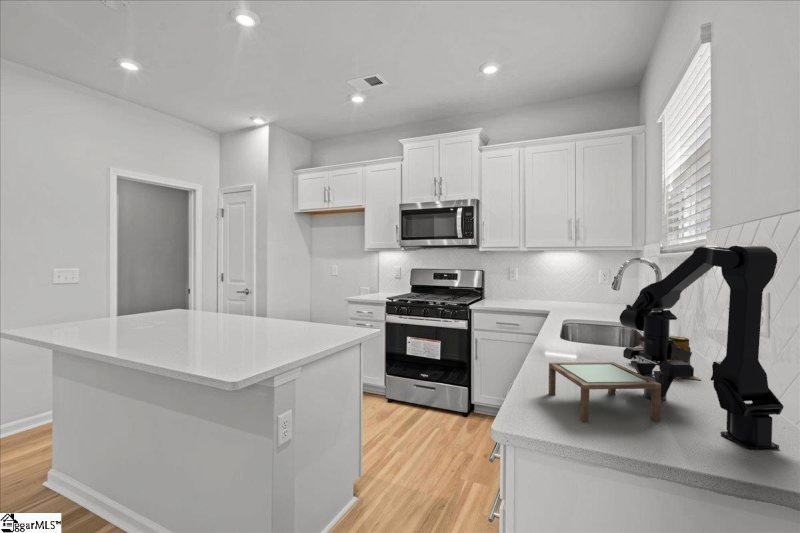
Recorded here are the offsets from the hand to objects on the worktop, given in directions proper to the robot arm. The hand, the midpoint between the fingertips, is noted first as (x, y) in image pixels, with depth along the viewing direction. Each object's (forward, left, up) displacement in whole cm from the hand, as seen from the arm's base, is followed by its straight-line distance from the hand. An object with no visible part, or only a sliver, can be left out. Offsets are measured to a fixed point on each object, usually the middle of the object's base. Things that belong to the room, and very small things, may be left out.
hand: (655, 393), depth 101 cm
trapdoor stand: (-5, +18, -1) cm, 19 cm away
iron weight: (0, 0, -1) cm, 1 cm away
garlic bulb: (+30, -17, -2) cm, 35 cm away
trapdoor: (-5, +18, +6) cm, 20 cm away
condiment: (+18, -22, -2) cm, 29 cm away
